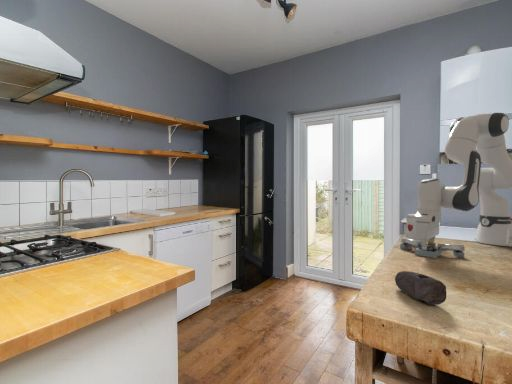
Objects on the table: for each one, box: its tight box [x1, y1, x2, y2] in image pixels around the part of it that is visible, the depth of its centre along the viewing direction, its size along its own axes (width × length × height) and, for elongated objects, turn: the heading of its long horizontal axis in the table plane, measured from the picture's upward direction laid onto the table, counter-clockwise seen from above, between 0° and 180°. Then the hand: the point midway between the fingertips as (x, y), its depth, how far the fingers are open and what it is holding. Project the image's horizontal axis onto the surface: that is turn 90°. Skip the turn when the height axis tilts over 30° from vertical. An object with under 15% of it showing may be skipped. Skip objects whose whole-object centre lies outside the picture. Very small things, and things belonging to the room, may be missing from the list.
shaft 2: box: [437, 243, 466, 259], centre depth 117 cm, size 9×4×5 cm, turn 73°
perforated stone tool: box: [394, 270, 448, 306], centre depth 76 cm, size 15×5×7 cm, turn 14°
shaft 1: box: [399, 237, 421, 250], centre depth 128 cm, size 9×4×5 cm, turn 18°
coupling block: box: [421, 241, 437, 252], centre depth 120 cm, size 4×4×5 cm
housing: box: [414, 247, 442, 259], centre depth 120 cm, size 8×8×2 cm
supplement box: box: [405, 213, 429, 241], centre depth 140 cm, size 9×9×15 cm
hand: (428, 247), depth 120 cm, fingers open, 8 cm apart
